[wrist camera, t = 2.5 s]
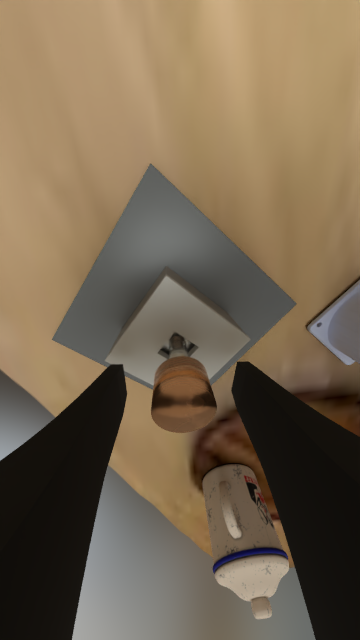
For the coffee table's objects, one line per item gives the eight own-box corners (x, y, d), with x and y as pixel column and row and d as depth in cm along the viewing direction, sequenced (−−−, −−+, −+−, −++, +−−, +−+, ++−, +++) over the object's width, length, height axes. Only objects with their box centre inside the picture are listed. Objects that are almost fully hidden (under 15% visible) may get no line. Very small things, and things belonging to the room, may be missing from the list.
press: (151, 165, 11) (140, 114, 7) (293, 302, 16) (343, 325, 12) (54, 337, 16) (9, 375, 11) (188, 404, 21) (194, 449, 16)
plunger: (169, 294, 11) (172, 340, 6) (224, 333, 13) (265, 399, 7) (129, 347, 13) (102, 423, 7) (182, 376, 14) (192, 458, 9)
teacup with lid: (259, 482, 30) (310, 614, 19) (210, 496, 31) (233, 630, 20) (243, 444, 25) (300, 593, 14) (185, 463, 26) (198, 616, 15)
